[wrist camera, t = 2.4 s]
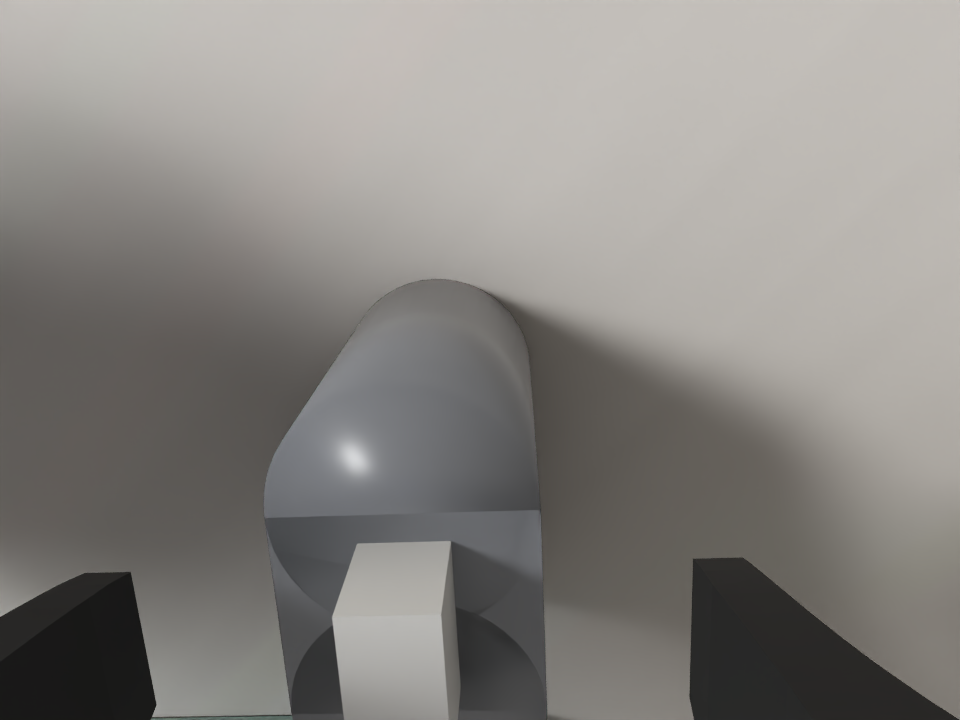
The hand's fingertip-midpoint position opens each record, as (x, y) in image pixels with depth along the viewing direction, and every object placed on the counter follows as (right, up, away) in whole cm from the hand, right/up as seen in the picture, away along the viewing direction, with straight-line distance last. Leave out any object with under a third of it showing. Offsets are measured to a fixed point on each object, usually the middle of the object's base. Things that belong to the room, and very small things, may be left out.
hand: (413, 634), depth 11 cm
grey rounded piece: (0, +2, +6) cm, 6 cm away
